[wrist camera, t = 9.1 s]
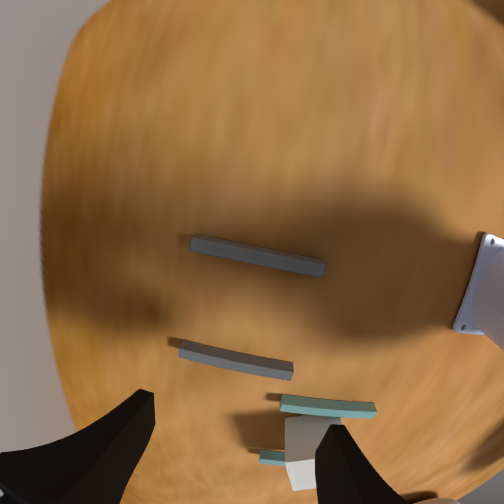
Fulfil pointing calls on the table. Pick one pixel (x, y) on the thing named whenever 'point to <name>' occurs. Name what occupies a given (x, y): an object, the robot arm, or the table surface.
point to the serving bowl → (438, 501)
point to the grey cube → (304, 447)
